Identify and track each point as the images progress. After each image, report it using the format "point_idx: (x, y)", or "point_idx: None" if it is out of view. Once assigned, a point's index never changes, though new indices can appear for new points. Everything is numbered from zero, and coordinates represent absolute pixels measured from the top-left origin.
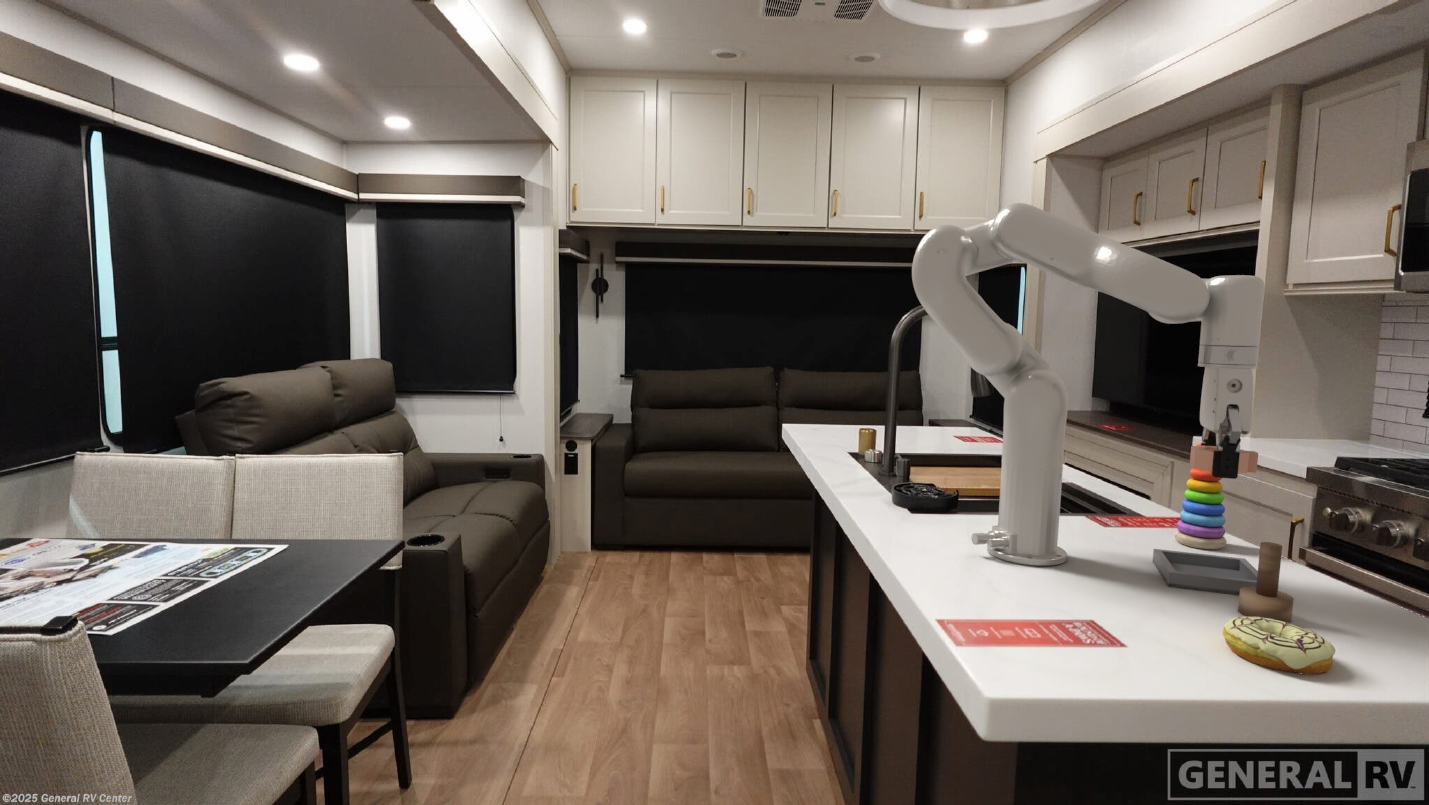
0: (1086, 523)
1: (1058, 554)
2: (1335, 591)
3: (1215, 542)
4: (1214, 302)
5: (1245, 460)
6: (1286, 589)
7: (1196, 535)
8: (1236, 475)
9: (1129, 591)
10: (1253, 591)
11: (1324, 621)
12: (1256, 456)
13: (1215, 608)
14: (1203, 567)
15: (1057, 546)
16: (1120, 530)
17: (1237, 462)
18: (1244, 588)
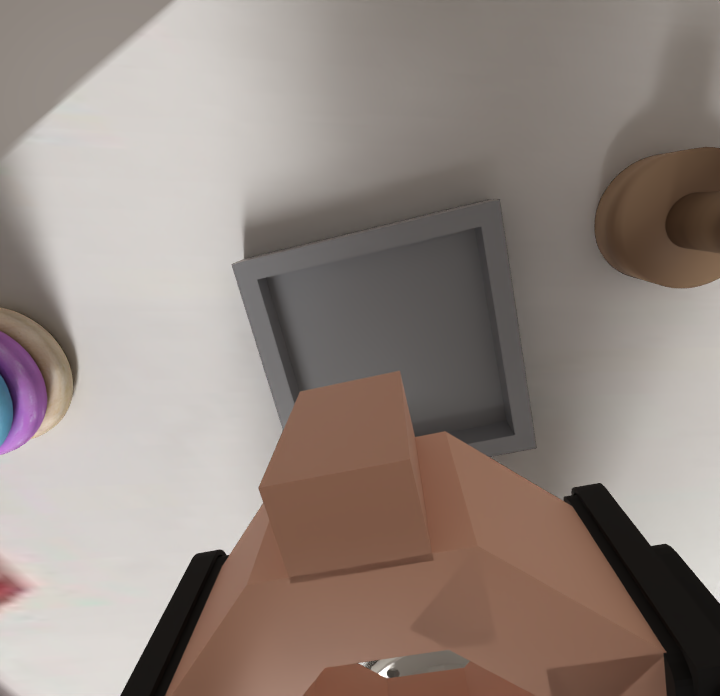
0: (27, 626)
1: (462, 659)
2: (278, 8)
3: (37, 339)
4: None
5: (509, 518)
6: (355, 151)
7: (46, 395)
8: (605, 497)
9: (617, 500)
10: (683, 254)
11: (627, 67)
12: (411, 451)
13: (655, 327)
14: (308, 360)
15: (387, 668)
16: (31, 554)
17: (664, 577)
18: (661, 276)
